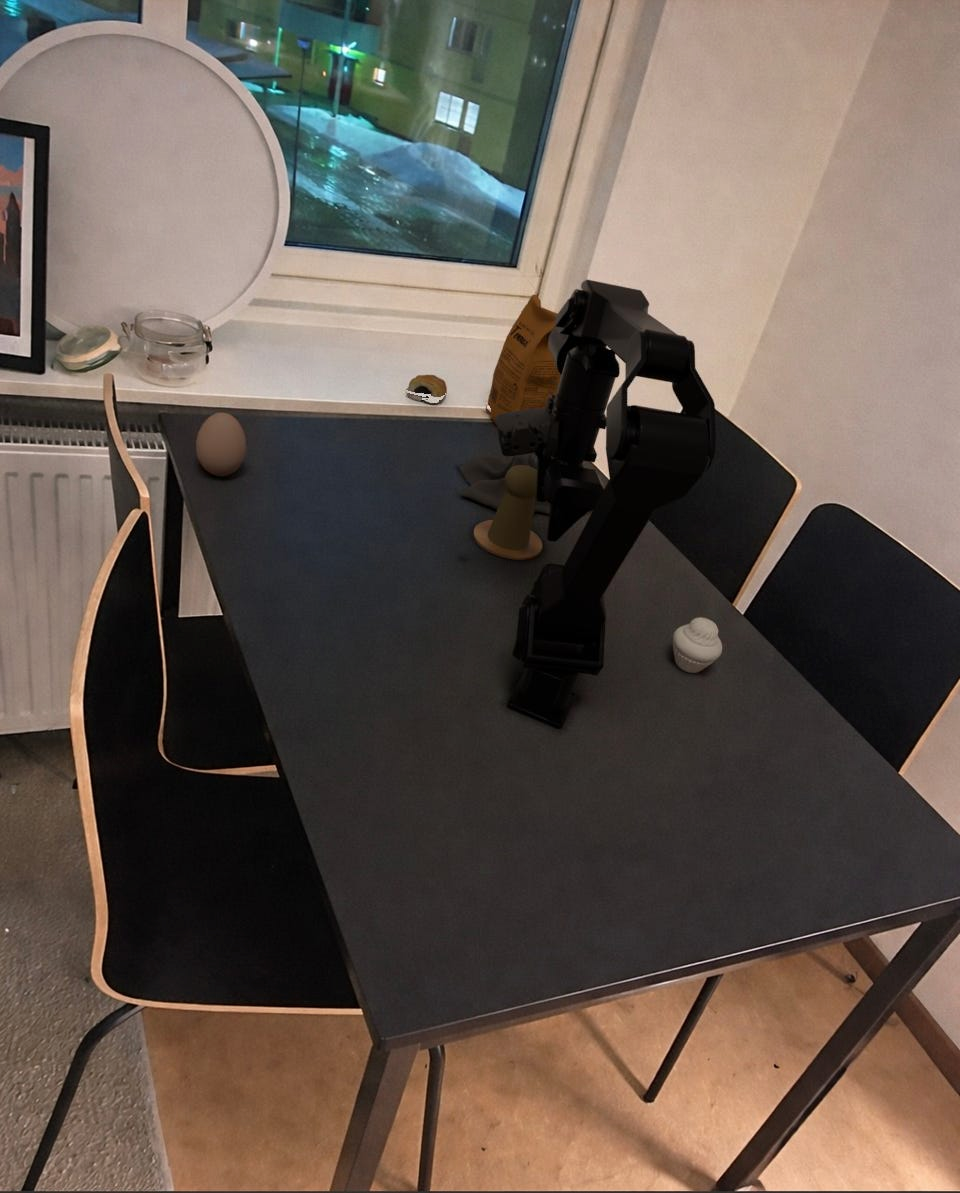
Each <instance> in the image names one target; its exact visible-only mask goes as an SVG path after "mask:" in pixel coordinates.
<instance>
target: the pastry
mask: <svg viewBox="0 0 960 1193" xmlns="http://www.w3.org/2000/svg"><path fill="white" fill-rule="evenodd" d="M447 387H448V386H447V384H446V381H445V380H444V379H442V378H440V377H438V376H437V375H434V374H418V375H416V376H415V377H413V378H412V379H411V380H410V381H409V384H408V387H407V388H406V389H405V393H406V394H407V397H408V398H409V399H410V400H414V401H419V402H422V401H421V400H422V398H429V397H428V396H426V397H422V396H418V395H414V394H410V393H407V392H406V390H408V391H411V392H415V393H424V394H431V396H433V397H441V396H443V395H445V393H446V394H447V393H448V388H447ZM445 396H446V395H445ZM426 400H428V399H426ZM424 401H425V400H424ZM424 401H423V402H424ZM443 401H444V399H442V400H439V403H438V404H441V403H442V402H443ZM431 404H434V403H431Z"/></svg>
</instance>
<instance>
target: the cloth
mask: <svg viewBox="0 0 960 1193" xmlns="http://www.w3.org/2000/svg"><path fill="white" fill-rule="evenodd" d="M516 465H525V466H529V467H532V468H534V469H536V470H537V461H535V459H534V457H533V456H532V453H530V454H523V455H515V456H512V458H511V459H510V460H509V462H508V461H505V460H504V459H502V458H501V457H499V456H498V455H495V454H482V455H478V456H475V457H474V458H471V459H469V460H468V461H467V462H466V463H464V464H462V465H460V466H459V470H460V472H461V474H462V477H463V479H465V481H466V482H467V484H469V487H467V488H465V489H463V490H462V491H460V495H461V497H462V498H465V499H469V500H472V501H474V502H477V503H479V504H481V505H484V506H487V507H488V508H491V509H494V510H496V511H497V510H498V507H499V505H500V502H501V500H502V498H503V495H504V493H505V490H506V486H505V476H506V473H507V471H508V470H509V469H510V468H511V467H513V466H516ZM550 505H551V504H550V503H548V502H547V501H545V502H539V501H537V499H536V496H535V502H534V509H533V515H534V514H535V513H542V514H545V515H549V513H550Z"/></svg>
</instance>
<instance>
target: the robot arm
mask: <svg viewBox="0 0 960 1193" xmlns="http://www.w3.org/2000/svg"><path fill="white" fill-rule="evenodd" d="M649 307H650V302H649V300H648V299H647V297H646V296H645V294H644V292H643V291H642V290H641V289H636V288H632V287H627V286H622V285H617V284H611V283H607V282H603V281H602V282H601V281H596V280H591V279H584V280H583V281H582V282H581V285H580V289H579V288H576V289H574V290H573V292H572V294H571V295H570V297H569V298H568V299H567V300H566V302H565V303H564V304H563V306H562V307H561V308H560V310H559V311H558V312H557V313H558V314H557V316H556V324H555V326H556V327H555V328H554V329H553V331H552V332H551V333H550V336H549V341H548V345H549V350H550V353H551V355H552V357H553V360H554V362H555V364H556V367H557V369H558V371H559V373H560V374H561V379H560V383H559V386H558V390H557V393H556V395H551V398H548V399H547V402H546V406H545V408H541V409H526V410H519V411H513V412H507V413H502V414H499V415H498V416H497V417H496V420H497V425H496V427H497V434H498V444H499V448H500V451H501V452H500V453H501V455H503V456H504V457H514V456H515V455H523V454H534V455H535V456H536V462H537V491H536V499H537V501H539V502H545V501H547V502H548V503H550V504H551V505H550V513H549V514H548V522H547V532H546V540H547V541H548V542H553V543H555V542H558V540H559V539H561V538H562V536H563V535H565V534H566V533H567V532H568V531H569V530H570V529H571V528H572V527H573V526H574V525H575V524H576V523H577V522H578V521H579V520H580V519H582V518H583V517H584V516H585V515H586V514H588V513H589V512H590V511H592V512H591V514H590V515H589V517H588V520H587V521H586V523H585V525H584V527H583V529H582V531H581V533H580V534H579V536H578V538H577V540H576V542H575V544H574V545H573V548H572V550H571V551H570V553H569V556H568V557H567V559H566V562H565V563H564V564H559V563H549V562H547V563H546V564H545V565H544V566H542V567H541V570H540V573H539V575H538V577H537V579H536V580H535V581H534V582H533V588H532V590H531V591H530V593H529V594H527V595H526V596H525V597H524V600H523V601H522V603H521V606H520V607H519V608H518V617H517V625H516V635H515V641H514V644H513V649H512V653H511V654H512V657H514V658H515V659H517V660H518V661H519V663H520V666H521V668H522V669H524V671H523V673H522V675H521V678H520V679H519V681H518V683H517V684H516V686H515V687H514V689H513V691H512V692H511V694H510V695H509V696H510V697H509V698H508V700H507V702H506V706H507V707H508V708H510V709H512V710H515V711H517V712H519V713H522V714H523V715H526V716H528V717H531V718H533V719H536V720H539V721H540V722H543V723H544V724H545V723H546V724H548V725H550V726H553V727H555V728H558V729H562V728H563V727H564V725H565V722H566V720H567V718H568V715H569V714H570V712H571V710H572V707H573V705H574V703H575V701H576V699H577V696H578V693H577V692H576V691H574V689H575V687H576V684H577V681H578V678H579V676H580V674H583V675H591V676H594V677H596V676H598V675H599V674H600V672H601V671H602V669H603V667H604V662H605V661H604V659H605V641H606V624H607V623H606V621H607V613H606V606H605V597H604V596H605V593H606V591H607V590H608V588H609V587H610V585H611V583H612V581H613V580H614V578H615V577H616V575H617V573H618V572H619V570H620V569H621V567H622V565H623V563H624V562H625V560H626V559H627V557H628V555H629V554H630V552H631V550H632V549H633V547H634V545H635V544H636V542H637V541H638V539H639V538H640V536H641V534H642V533H643V531H644V529H645V528H646V526H647V524H648V523H649V522H650V520H651V517H652V516H653V514H654V513H655V511H656V510H658V509H660V508H662V507H665V506H667V505H669V504H671V503H674V502H676V501H678V500H680V499H682V498H684V497H686V496H687V495H688V494H689V493H690V491H691V490H692V489H693V488H694V487H695V486H696V485H697V483H698V482H699V481H700V480H701V479H702V477H703V476H704V475H705V473H706V472H707V471H708V470H709V469H710V467H711V465H712V463H713V461H714V457H715V453H716V447H717V446H716V445H717V444H716V443H717V440H716V434H717V433H716V404H715V401H714V399H713V397H712V395H711V393H710V392H709V390H708V388H707V386H706V384H705V383H704V381H703V379H702V377H701V375H700V373H699V372H698V370H697V369H696V349H695V343H694V341H693V340H690V339H687V336H685V335H680V334H677V333H676V332H675V331H673V330H672V329H671V328H669V327H668V326H666V325H664V324H663V323H662V322H660V321H659V320H658V319H656V318H655V317H653V316H652V315H650V314H649ZM616 356H617V357H618V359H620V360H621V361H622V362H623V363H624V366H625V369H624V370H625V378H624V380H623V382H622V383H621V385H620V386H619V388H618V389H617V391H616V392H615V394H614V395H613V396H612V398H611V399H610V397H611V394H612V390H613V388H614V384H615V381H616V378H619V376H620V373H621V372H620V370H621V367H620V362H619V361H618V359H617V357H616ZM637 377H638V378H643V379H649V380H655V381H659V382H666V383H670V384H671V388H672V392H673V393H674V395H675V397H676V398H677V400H678V402H679V404H680V406H681V408H682V410H683V411H684V413H683V412H679V411H671V410H666V409H659V408H654V407H650V406H649V407H648V406H643V405H637V404H631V405H628V389H629V387H630V386H631V384H632V382H633V381H634V380H635V379H636V378H637ZM605 413H606V414H605ZM601 429H602V430H605V453H606V461H607V470H608V476H609V479H608V481H607V483H606V485H605V484H604V483H603V480H602V478H601V476H600V475H599V473H598V471H597V470H596V469H593V468H587V467H585V466H584V464H583V463H584V462H588V463H595V462H596V460H597V456H598V453H597V451H596V449H595V444H596V441H597V438H598V435H599V432H600V430H601Z"/></svg>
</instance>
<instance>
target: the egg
mask: <svg viewBox="0 0 960 1193" xmlns="http://www.w3.org/2000/svg"><path fill="white" fill-rule="evenodd" d="M195 441H196V443H195V451H196V456H197V459H198V461H199V463H200V464H201V466H202V467H203V468H204V470H206V471H207V472H208V473H209V474H211V475H213V476H216V477H227V476H229V475H232V474H233V473H235V472H236V471H237V470H238V469H239V468H240V467H241V466H242V464H243V462H244V461H245V459H246V454H247V440H246V435H245V432H244V430H243V427H242V426H241V424H240V422H239V421H238V420H237V419H236V417H234V416H232V415H231V414H229V413H227V412H216V413H214V414H212V415H210V416H209V417H207V419H206V420H205V421H204V422H203V423H202V425H201V426H200V428H199V430H198V433H197V437H196V440H195Z"/></svg>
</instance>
